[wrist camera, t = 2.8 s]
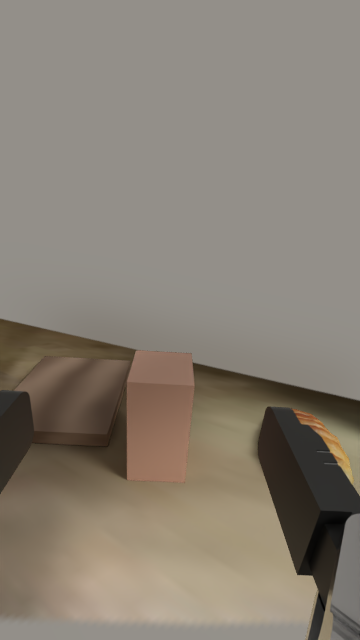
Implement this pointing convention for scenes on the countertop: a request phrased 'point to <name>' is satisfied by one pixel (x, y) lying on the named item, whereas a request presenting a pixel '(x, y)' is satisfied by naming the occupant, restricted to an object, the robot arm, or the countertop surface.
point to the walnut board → (75, 399)
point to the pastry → (327, 440)
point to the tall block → (159, 415)
